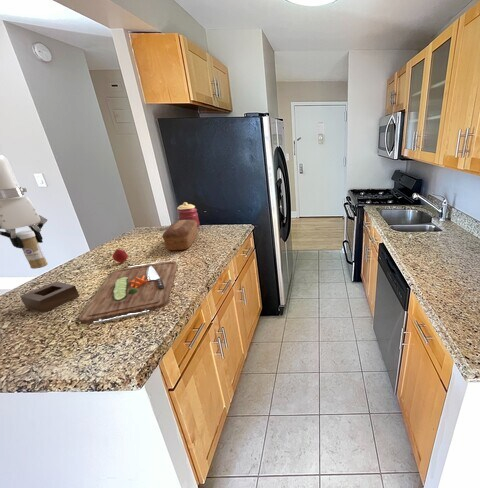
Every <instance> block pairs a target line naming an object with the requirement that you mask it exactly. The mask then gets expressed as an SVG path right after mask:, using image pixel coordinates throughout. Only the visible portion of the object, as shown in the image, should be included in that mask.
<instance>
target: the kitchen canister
mask: <svg viewBox="0 0 480 488" xmlns="http://www.w3.org/2000/svg"><path fill="white" fill-rule="evenodd" d="M176 209H177V210H176V213H177V219H178V221H179V220H195V221H196V222H197V228H198V227H200V226H201V225H200V224H201V223H200V220H199V213H198V212H197V211H198V209H197V208H196V205H194V204H192V203H188V202H186V201H184V202H183V203H182V204H180V205H178V207H176Z"/></svg>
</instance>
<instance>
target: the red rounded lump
mask: <svg viewBox="0 0 480 488" xmlns="http://www.w3.org/2000/svg"><path fill="white" fill-rule="evenodd" d="M128 255H129V254H128V253H127V252H126V251H125V250H124V249H121V248H115V251H114V252H113V254H112V259H113V261H115V262H117V263H120V264H123V263H125V262H126V261H127V259H128V257H129V256H128Z"/></svg>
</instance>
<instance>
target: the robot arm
mask: <svg viewBox="0 0 480 488" xmlns="http://www.w3.org/2000/svg"><path fill="white" fill-rule="evenodd" d="M25 193H28V189H27V188H26V187H22V186H20V184H19V181H18V179H17V176H16V175H15V172H14V170H13V168H12V166H11V163H10V161H9V159H8V158H7V157H6V156H5V155H2V154H0V236H2V237H6V238H8V239H9V240H10V242H11V244H12V246H13V247H14V248H15V249H22V248H23V247H24V246H23V244H22V242H21V240H20V238H19V237H17V236H16V233H17V231H16V229H20V228H25V227H28V228H29V229H30V231H34V233H35V236H36V240H37V242H38V243H39V244H42V243H44V241H43V236H42V234H41V231H42V229H43V227H44V225H45V224H46V223H47V222H48V219H47V218H46V217H44V216H42V215H40V214H39V213H38V210H37V209H36V207H35V206H34V204H33V202H32V201H31V200H30V199H29V197H28V196H27V195H25ZM3 230H5V231H3Z"/></svg>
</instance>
